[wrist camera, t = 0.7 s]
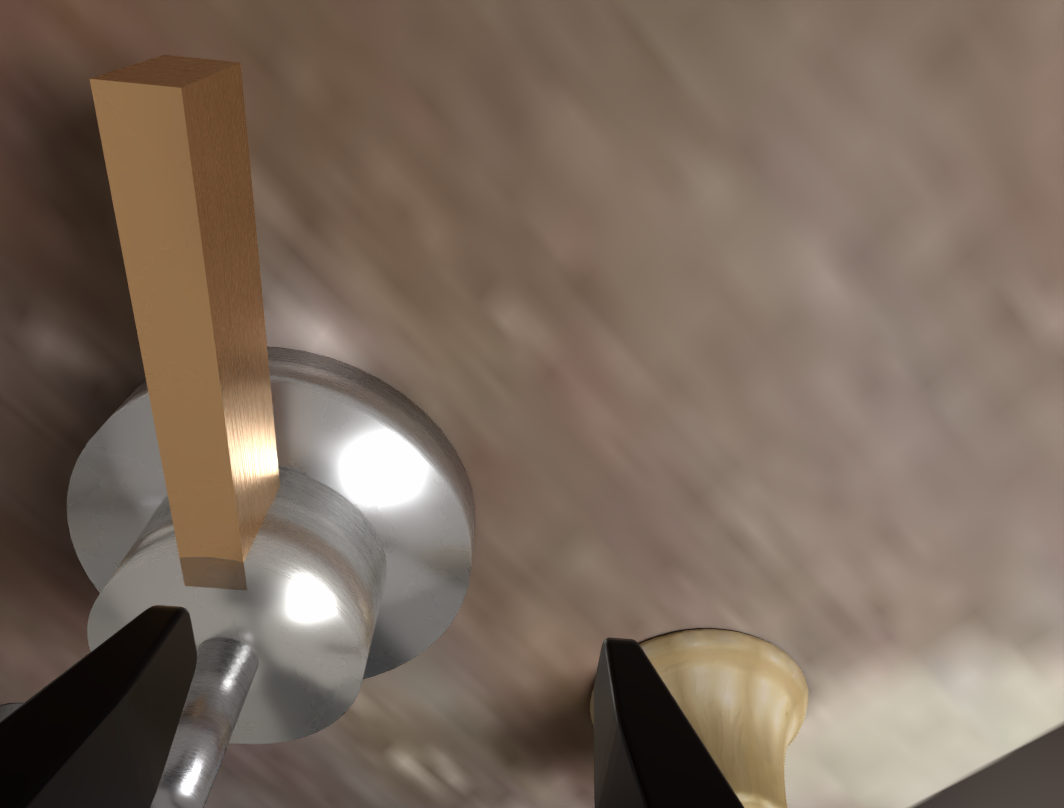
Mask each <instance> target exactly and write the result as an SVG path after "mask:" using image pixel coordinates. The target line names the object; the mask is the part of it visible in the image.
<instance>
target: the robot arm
mask: <svg viewBox="0 0 1064 808" xmlns="http://www.w3.org/2000/svg"><path fill="white" fill-rule="evenodd" d="M196 665H197V649H196V643H195V638H194V633H193V627H192V622H191V617H190V614H189V611H188V610H187V609H186V608H184V607H179V606H165V605H155V606H152V607H150V608H148V609H146V610H145V611H143V612H142V613H141V614H140V615H138V616H137V617H136V618H134V619H133V620H132V621H130V622H129V623H128V624H126V625H125V626H124V627H123V628H121V629H120V630H119V631H117V632H116V633H115V634H113V635H112V636H111V637H110V638H108V639H107V640H106V641H104V642H103V643H102V644H100V645H99V646H98V647H97V648H95V649H94V650H93V651H91V652H90V653H89V654H87V655H86V656H85V657H84V658H82V659H81V660H80V661H78V662H77V663H76V664H74V665H73V666H72V667H70V668H69V669H68V670H67V671H65V672H64V673H63V674H61V675H60V676H59V677H57V678H56V679H55V680H54V681H52V682H51V683H50V684H48V685H47V686H46V687H44V688H43V689H42V690H41V691H39V692H38V693H37V694H35V695H34V696H33V697H31V698H30V699H29V700H27V701H26V702H25V703H24V704H22V705H21V706H20V707H18V708H17V709H16V710H14V711H13V712H12V713H11V714H9V715H8V716H7V717H5V718H4V719H3V720H1V721H0V808H150V807H151V804H152V802H153V799H154V797H155V794H156V792H157V789H158V786H159V783H160V780H161V777H162V774H163V771H164V768H165V765H166V762H167V759H168V756H169V752H170V749H171V746H172V743H173V740H174V737H175V733H176V730H177V727H178V724H179V721H180V718H181V714H182V711H183V708H184V705H185V702H186V699H187V696H188V692H189V689H190V686H191V683H192V680H193V677H194V673H195V670H196ZM594 799H595V808H745V807H744V806H743V804H742V803H741V801H740V800H739V798H738V797H737V795H736V794H735V792H734V790H733V789H732V787H731V786H730V784H729V783H728V781H727V780H726V778H725V776H724V775H723V773H722V772H721V770H720V769H719V767H718V766H717V764H716V762H715V761H714V759H713V758H712V756H711V755H710V753H709V752H708V750H707V749H706V747H705V745H704V744H703V742H702V741H701V739H700V738H699V736H698V735H697V733H696V731H695V730H694V728H693V727H692V725H691V724H690V722H689V721H688V719H687V717H686V716H685V714H684V713H683V711H682V710H681V708H680V707H679V705H678V703H677V702H676V700H675V699H674V697H673V696H672V694H671V693H670V691H669V690H668V688H667V686H666V685H665V683H664V682H663V680H662V679H661V677H660V676H659V674H658V672H657V671H656V669H655V668H654V666H653V665H652V663H651V662H650V660H649V658H648V657H647V655H646V654H645V652H644V651H643V649H642V648H641V646H640V645H639V643H638V642H636V641H635V640H632V639H621V638H607V639H605V640H604V642H603V644H602V648H601V653H600V658H599V663H598V668H597V673H596V678H595V684H594Z"/></svg>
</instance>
